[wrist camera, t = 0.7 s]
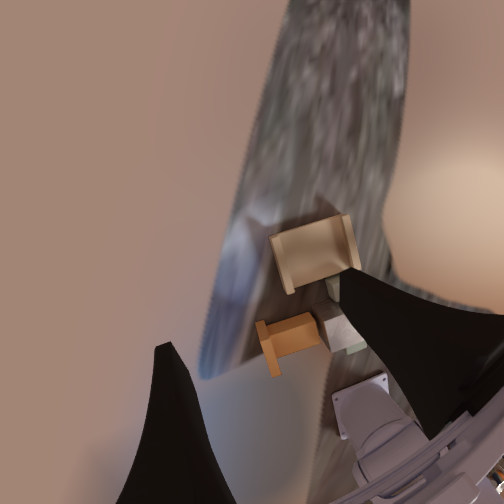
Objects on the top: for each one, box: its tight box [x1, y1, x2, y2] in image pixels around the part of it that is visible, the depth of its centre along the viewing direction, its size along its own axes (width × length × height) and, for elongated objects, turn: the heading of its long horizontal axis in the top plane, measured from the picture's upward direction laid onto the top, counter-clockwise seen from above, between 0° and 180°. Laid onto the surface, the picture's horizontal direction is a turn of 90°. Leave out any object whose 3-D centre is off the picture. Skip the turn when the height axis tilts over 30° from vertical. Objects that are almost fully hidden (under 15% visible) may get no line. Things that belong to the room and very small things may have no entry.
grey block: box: [311, 298, 364, 353], centre depth 32 cm, size 4×5×5 cm
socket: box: [325, 274, 367, 355], centre depth 33 cm, size 9×2×3 cm, turn 17°
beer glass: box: [486, 463, 504, 494], centre depth 36 cm, size 7×7×15 cm
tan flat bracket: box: [268, 214, 361, 295], centre depth 32 cm, size 6×8×2 cm
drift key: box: [255, 312, 320, 377], centre depth 32 cm, size 4×6×5 cm
